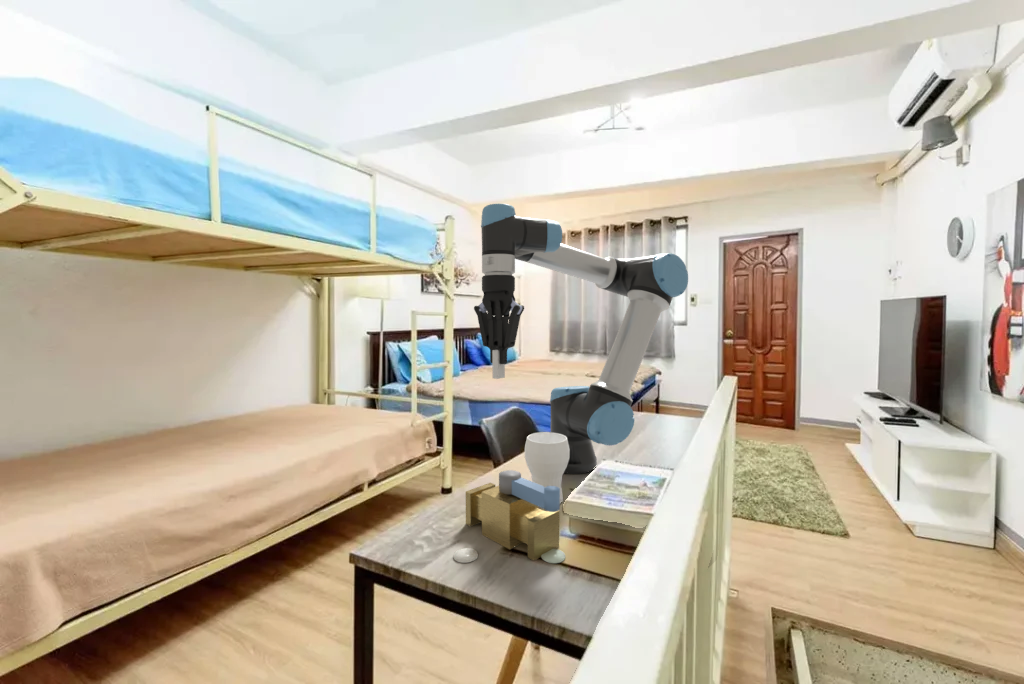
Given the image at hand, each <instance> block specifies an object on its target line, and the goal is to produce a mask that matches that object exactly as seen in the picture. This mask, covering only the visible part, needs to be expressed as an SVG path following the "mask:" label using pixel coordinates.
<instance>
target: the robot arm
mask: <svg viewBox="0 0 1024 684" xmlns="http://www.w3.org/2000/svg"><path fill="white" fill-rule="evenodd" d="M480 221H481V222H480V223H481V225H480V228H481V273H482V274H484V275H483V276H482V277H481V291H482V292H483V297H482V300H481V302H480V303H479V304H478V305H474V307H473V310H474V312H475V314H476V315H477V322H478V327H479V331H480V336H481V343H482V346H483V347H487V349H489V361H490V364H491V365H492V379H496V380H498V379H503V378H505V377H506V375H505V374H506V373H505V372H506V370H505V369H506V366H505V365H506V364H507V363H508V350H509V349H511V348H514V347H515V344H516V340H517V336H518V332H519V331H518V330H519V325H520V320H521V317H522V314H523V312H524V310H525V306H524V305H522V304H519V303H518V302H516V298H515V295H514V293H515V290H516V277H515V276H514V275H513V274H515V273H516V260H518V261H521V262H526V263H528V264H532V265H536V266H538V267H542V268H545V269H548V270H552V271H554V272H558V273H561V274H563V275H564V274H565V275H567V276H571V277H574V278H577V279H580V280H584V281H587V282H590V283H593V284H594V285H595V286H596V287H597V288H598V289H600V290H604V291H608V292H611V293H614V294H616V295H620V296H623V297H627V298H628V299H629V304H628V306H627V309H626V311H625V314H624V317H623V319H622V321H621V324H620V326H619V328H618V331H617V333H616V336H615V339H614V341H613V343H612V347H611V348H610V351H609V353H608V356H607V359H606V361H605V363H604V366H603V369H602V372H601V373H600V376H599V378H598V380H597V381H595V382H593V383H591V384H590V385H589V386H587V385H574V386H573V385H571V386H570V385H569V386H559V387H555V388H553V389H552V390H551V393H550V399H549V403H550V432H551V433H559V434H562V435H564V436H566V437H567V440H568V444H569V449H570V455H569V461H568V464H567V467H566V469H565V471H564V473H563V474H568V475H569V474H570V475H571V474H573V475H574V474H575V475H578V474H579V475H580V474H585V472H586V473H589V472H588V471H590V472H592V471H591V470H592V469H593V468H594V467H595V466H596V465H597V463H598V461H597V456H596V454H595V453H596V452H595V450H594V446H593V442H594V443H596V444H600V445H604V446H609V447H610V446H615V445H618V444H619V443H620V444H621V443H622V442H624V441H625V440H626V439H627V438H628V437H629V436H630V434H631V433H632V430H633V429H634V426H635V417H634V415H635V413H634V410H633V408H632V404H633V401H634V400H633V399H632V396H631V393H630V392H631V390H632V388H633V386H634V383H635V382H634V381H635V380H636V378H637V374H638V372H639V369H640V367H641V364H642V361H643V359H644V358H645V357H644V356H645V354H646V351H647V349H648V347H649V343H650V341H651V340H652V339H651V338H652V336H653V333H654V331H655V328H656V326H657V323H658V321H659V318H660V315H661V313H662V312H664V311H666V310H668V309H669V308H670V305H671V303H672V300H673V298H677V297H679V296H681V295H683V294H684V293H685V292H686V290H687V287H688V283H689V273H688V270H687V266H686V264H685V262H684V261H683V260H682V258H681V257H680V256H678V255H677V254H676V253H675V254H674V253H670V252H669V253H667V252H666V253H662V252H660V253H657V254H654V255H647V256H640V257H639V256H638V257H632V258H616V257H613V256H605V257H601V256H599V255H596V254H593V253H590V252H587V251H584V250H581V249H578V248H575V247H572V246H569V245H567V244H564V243H562V242H563V229H562V226H561V224H560V223H559V222H558V221H555V220H551V219H548V218H544V219H542V218H533V217H532V218H531V217H521V216H517V215H516V210H515V207H514V206H513V205H510V204H508V203H489V204H487V205H486V206H484V207H483V208H482V211H481V220H480Z"/></svg>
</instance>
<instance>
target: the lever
mask: <svg viewBox="0 0 1024 684" xmlns="http://www.w3.org/2000/svg"><path fill="white" fill-rule="evenodd" d="M498 486H499V491H500V492H501V493H503V494H512V495H514V496H517V497H519V498H521V499H523V500H525V501H528V502H530V503H532V504H534V505H537V506H538V508H541V509H542V510H544V511H549V512H556V511H558V510H559V511H560V509H561V507H560V506H561V503H560V488H559V487H556V486H547V487H544V486H542V485H539V484H537V483H534V482H532V480H529V479H526V478H523V477H522V473H521V472H520V471H517V470H513V469H509V470H507V469H506V470H503V471H501V472H498Z"/></svg>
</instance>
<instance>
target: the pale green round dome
mask: <svg viewBox="0 0 1024 684" xmlns="http://www.w3.org/2000/svg"><path fill="white" fill-rule="evenodd" d="M540 558H541V559H542V561H544V562H547V564H548V563H549V564H560V563H563V562H564V561H565V559H566V553H565V552H564V551H562V550H561V549H559V548H556V549H551V550H549V551H548V552H546V553H544V554H542V555H541V557H540Z"/></svg>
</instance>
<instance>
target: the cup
mask: <svg viewBox="0 0 1024 684" xmlns="http://www.w3.org/2000/svg"><path fill="white" fill-rule="evenodd" d="M569 455H570V449H569V444H568V440H567V437H566V436H564V435H562V434H559V433H551V431H550V432H549V431H545V432H543V431H542V432H533V433H531V434H529V435H528V436H526V441H525V444H524V460H525V463H526V466H527V468H528V470H529V473H530V475H531V481H532V482H534V483H537V484H539V485H542V486H544V487H547V486H556V487H559V488H560V504H561V502H562V503H563V501H564V496H563V489H562V480H563V475H564V474H565V473H564V471H565V469H566V467H567V464H568V461H569Z"/></svg>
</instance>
